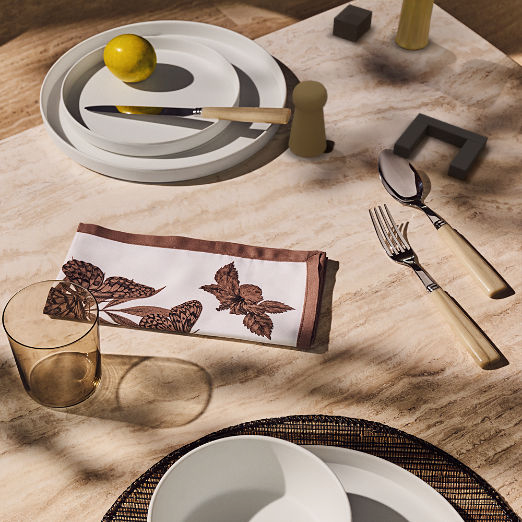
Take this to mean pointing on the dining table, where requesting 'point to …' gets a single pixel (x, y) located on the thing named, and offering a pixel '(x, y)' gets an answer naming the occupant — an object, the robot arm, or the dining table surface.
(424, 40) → the vase
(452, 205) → the dining table surface
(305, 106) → the olive pawn
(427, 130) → the dark gray u-shaped block
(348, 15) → the charcoal block
